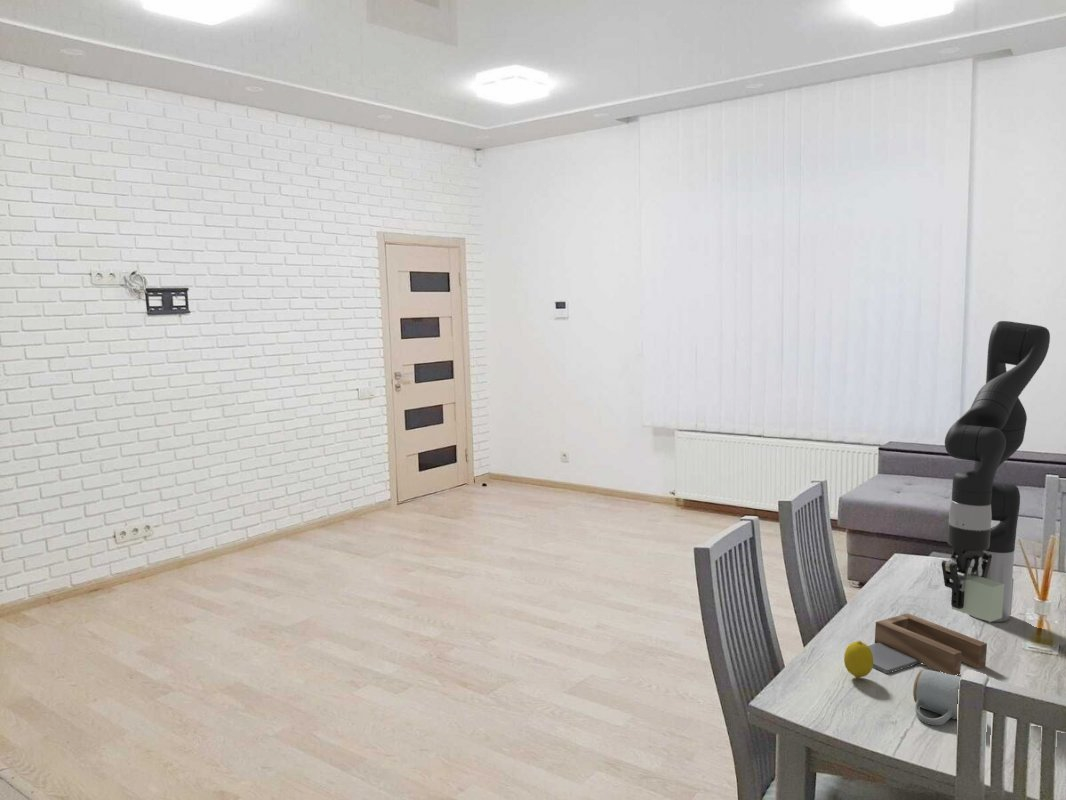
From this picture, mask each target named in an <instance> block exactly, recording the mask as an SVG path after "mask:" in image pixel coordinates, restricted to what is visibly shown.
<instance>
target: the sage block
mask: <svg viewBox="0 0 1066 800" xmlns="http://www.w3.org/2000/svg"><path fill="white" fill-rule="evenodd" d="M959 574H960V575H964V574H963V573H959ZM960 582H961V579H959V585H960ZM964 591H965V592H964V607H963V608H961V609H958V608H955V607H953V606H952V605H951V609H952V610H955V611H957V612H961V613H962V614H966V615H969V616H971V615H972V616H971V617H973V616H975V617H977V618H976V619H978V618H980V619H979V620H982V619H983V621H986V622H989V623H991V622H994V620H997V619H1000V618H1002V610H1003V597H1004V584H1003V583H1000V582H996V581H993V580H990V579H986V578H983V577H978V576H974V575H970V579H969V580H967V581H966V585H965V590H964ZM975 617H974V618H975Z"/></svg>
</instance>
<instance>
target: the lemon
mask: <svg viewBox="0 0 1066 800" xmlns="http://www.w3.org/2000/svg"><path fill="white" fill-rule="evenodd" d="M868 646H869V645H867V644H866V643H864V642H862V640H856V641H854V642H851V643H850V644H849V645H847V647H846V648H845V651H844V656H843V662H844V666H845V669H846V670H847V672H848V673H849V674H851V675H852V676H854V677H855V678H856V679H861V678H863V677H865V676H868V675H869V674H870V673H871V671H872V669H873V668H874V667H873V655H872V652H871V649H870V648H869V647H868Z"/></svg>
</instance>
